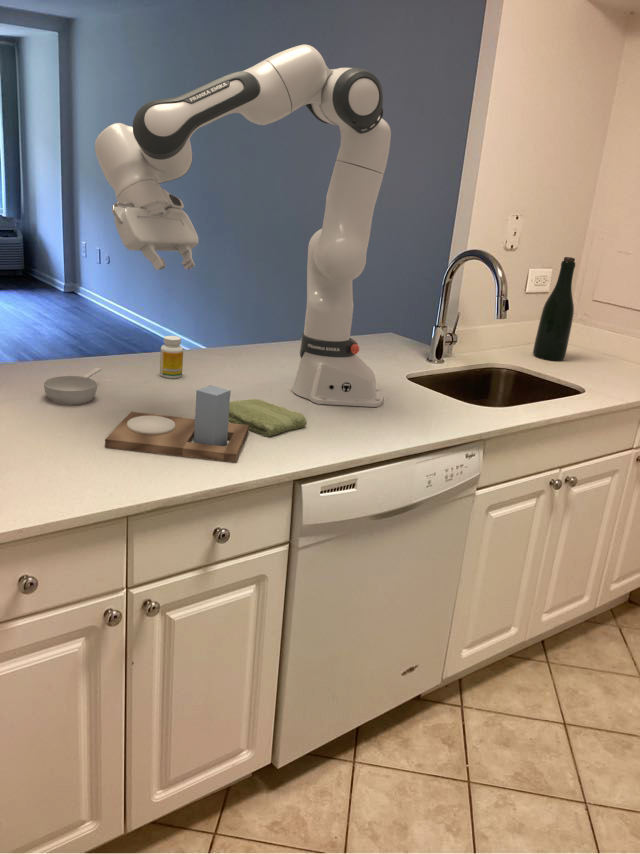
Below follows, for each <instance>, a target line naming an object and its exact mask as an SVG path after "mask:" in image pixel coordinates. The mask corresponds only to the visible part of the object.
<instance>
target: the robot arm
mask: <svg viewBox="0 0 640 854" xmlns="http://www.w3.org/2000/svg"><path fill="white" fill-rule="evenodd" d="M383 93H384V92H383V87H382V86H381V83H380V80H379V79H378V78H377V77H376V75H375V74H373V73H372V72H371V71H369V70H367V69H365V68H361V67H339V68H333V69H332V68H331V69H330V68H329V67H328V66H327V65H326V61H325V59H324V58H323V56H322V54H321V53H320V52H319V51H318V50H317V49H316V48H315V47H313V45H310V44H300V45H296V46H292V47H291V48H288V49H284V50H282V51H280V52H277V53H275V54H273V55H271V56H269V57H267V58H265V59H263V60H262V61H260V62H258V63H257V64H254V65H253V66H251V67H249V68H247V69H245V70H240V71H236V72H232V73H228V74H227V75H224V76H221V77H219V78H217V79H215V80H212V81H210V82H207V83H206V84H203V85H202V86H198V87H197V88H194V89H192V90H190V91H188V92H186V93H183V94H181V95H180V94H179V95H178V96H173V97H168V98H160V99H153V100H150V101H149V102H146V103H145V104H143V105H142V106H140V108H139V109H138V110H137V111H136V113H135V115H134V118H133V121H132V125H131V126H130V125H127V124H124V123H123V122H122V123H121V122H115V123H112V124H110V125H108V126H106V127H105V128H104V129H102V131H100V133H99V134H98V136H97V137H96V139H95V143H94V151H95V156H96V158H97V161H98V163H99V167H100V168H101V172H102V173H103V175H104V177H105V179H106V182H107V183H108V184H109V186H111V187H112V189H113V191H114V194H115V198H116V201H117V202H114V204H113V205H112V207H111V212H112V215H113V217H114V224H115V227H116V230H117V232H118V235H119V237H120V239H121V242H122V244H123V246H124V247H125V248H126V249H127V250H128V251H135V252H137V251H139V252H140V251H141V253H142V255H143V256H144V257H145V258H146V259H147V260H148V261H149V262H150V263H152V266H153V268H154V270H156V271H162V270H163V269H165V268H166V267H167V263H166V262H165V259H164V258H163V257H161V256H160V255H159V254H158V253H157V252H178V253H179V255H180V256H182V260H183V261H181V264H182V266H183V268H184V269H185V270H191V269H193V268H195V266H196V264H195V262H194V259H193V254H192V253H193V250H192V249H193V248H195V247H196V246H197V245H198V244H199V235H198V233H197V231H196V228H195V227H194V225H193V223H192V221H191V219H190V217H189V215H188V214H187V213H186V212H185V211H184V210H183V209H185V204H184V203H183V201H182V199H180V198H179V197H177V196H175V195H173V194H171V193H170V192H168V191H167V190H166V189H165V188H163V187H161V185H160V184H164V183H168V182H172V181H175V180H178V179H180V178H182V177H184V176H185V175H186V174H187V173H188V172H189V171H190V169H191V167H192V164H193V151H192V145H191V137H192V135H193V134H194V133H195V132H196V131H197V130H198V129H200V128H202V127H204V126H207V125H209V124H211V123H213V122H215V121H217V120H219V119H221V118H223V117H226V116H227V115H231V114H240V115H242V116H243V117H244V118H245V119H246V120H247V121H249V122H251V123H252V124H255V125H260V126H265V125H269V124H272V123H276V122H277V121H279V120H281V119H283V118H285V117H287V116H288V115H290V114H291V113H293V112H295V111H297V110H298V109H299V108H301V107H303V106H305V107H307V109H308V110H309V112H310V113H311V114H312V116H313V117H314V118H315V119H317V120H318V121H319V122H322V123H324V124H329V125H333V126H334V125H335V126H338V128H339V130H340V145H339V146H340V147H339V149H338V152H337V156H336V161H335V162H334V167H333V171H332V175H331V178H330V181H329V185H328V189H327V193H326V198H325V208H324V209H325V210H324V216H323V220H322V221H323V222H322V227H321V228H320V229H319V230H316V232H315V233H314V234H313V235H312V236H311V238H310V240H309V243H308V247H307V266H306V268H307V269H306V271H307V272H306V309H305V319H304V330H303V333H302V335H301V338H300V343H299V344H300V345H299V346H300V347H299V357H300V358H299V359H300V360H299V364H298V369H297V371H296V376H295V379H294V382H293V385H292V387H291V392H292V393H294V394H295V395H297V396H299V397H302V398H305V399H307V400H310V401H311V402H312V403H314V404H316V405H317V404H318V405H334V406H351V407H352V406H354V407H369V408H371V407H372V408H376V407H379V406H381V405H383V403H384V393H383V392H382V391H381V390H380V389H378V388H377V381H376V376H375V373H374V371H373V370H372V369H371V367H370V366H369V365H367V363H365V361H363V359H361V358H360V356H358V355H357V354H358V353H359V352H360V345H358V344H359V343H358V342H357V340H356V339H353V338H352V337H351V332H352V330H351V329H352V324H353V314H354V306H355V305H354V295H353V293H354V292H353V290H354V289H353V280H355V279H357V278H359V276H360V275H362V273H363V271H364V269H365V268H366V267H365V266H366V265H367V254H368V253H367V252H368V248H369V247H368V246H369V241H370V236H371V230H372V223H373V216H374V211H375V206H376V202H377V199H378V196H379V192H380V190H381V185H382V183H383V178H384V174H385V172H386V168H387V164H388V159H389V158H388V157H389V154H390V148H391V138H392V137H391V136H392V131H391V130H392V129H391V127H390V125H389V123H388V122H387V121H386V120H385V119H383V115H384V110H383V109H384V108H383V104H384V103H383V101H384V96H383V95H384V94H383ZM156 251H157V252H156Z"/></svg>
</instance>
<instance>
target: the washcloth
mask: <svg viewBox="0 0 640 854" xmlns="http://www.w3.org/2000/svg"><path fill="white" fill-rule="evenodd" d="M228 423H234V424H243V425H249V431H250V432H254V433H256V434H259V435H261V436H264V437H272V436H274V435H279V434H280V435H281V434H283V433H285V432H287V431H294V430H296V429H297V430H298V429H301V428H304V427H306V426H307V425H308V422H307V418H306V416H305V415H304V414H303V413H301V412H299V411H294V410H293V411H292V410H290V409H288V408H286V407H284V406H279V405H276V404H274V403H270V402H267V401H265V400H263V399H260V398H259V399H258V398H257V399H256V398H250V399H249V398H248V399H242V400H232V401H231V400H230V405H229V421H228Z"/></svg>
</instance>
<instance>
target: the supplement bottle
mask: <svg viewBox="0 0 640 854" xmlns="http://www.w3.org/2000/svg"><path fill="white" fill-rule="evenodd" d="M181 343H182V338H181V337H180V336H177V335H167V336H166V335H165V336H164V337H163V345H161V347H160V361H159V375H160V377H162V376H163V377H162V378H165V377H166V379H172V378H174V379H179V378H181V377H182V376H183V364H184V362H183V361H184V348H183V346H181Z"/></svg>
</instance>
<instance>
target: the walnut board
mask: <svg viewBox="0 0 640 854" xmlns="http://www.w3.org/2000/svg"><path fill="white" fill-rule="evenodd" d="M139 416H160V417H165V418H168V419H171V420H172V421H174V422H175V429H174V430H173V431H171V432H169V433H166V434H160V435H145V434H139V433H135V432H133V431H131V430H129V429H128V427H127V422H128V421H129V420H130V419H132V418H135V417H139ZM194 430H195V418H192V417H191V418H190V417H183V416H182V417H181V416H175V415H174V416H172V415H163V414H156V413H147V412H139V411H130V412H129V413H128V415H126V417H124V419H122V421H121V422H120V423H118V425H117V426H116V427H115V428H114V429H113V430H112V431H111V432H110V433H109V434H108V436H106V438H104V447H105V448H108V449H117V450H125V451H133V452H134V451H135V452H142V453H151V454H159V455H168V456H176V457H177V456H178V457H184V458H185V457H186V458H191V459H192V458H193V459H202V460H211V461H220V462H227V463H228V462H229V463H236V462H237V460H238V458H239V456H240V453H241V451H242V449H243V446H244V444H245V441H246V439H247V437H248V434H249V431H250V430H249V425H243V424H234V423H230V422H228V436H227V441H229V442H228V443H227V445H226V446H218V445H209V444H201V443H194V442H193V441H194Z"/></svg>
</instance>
